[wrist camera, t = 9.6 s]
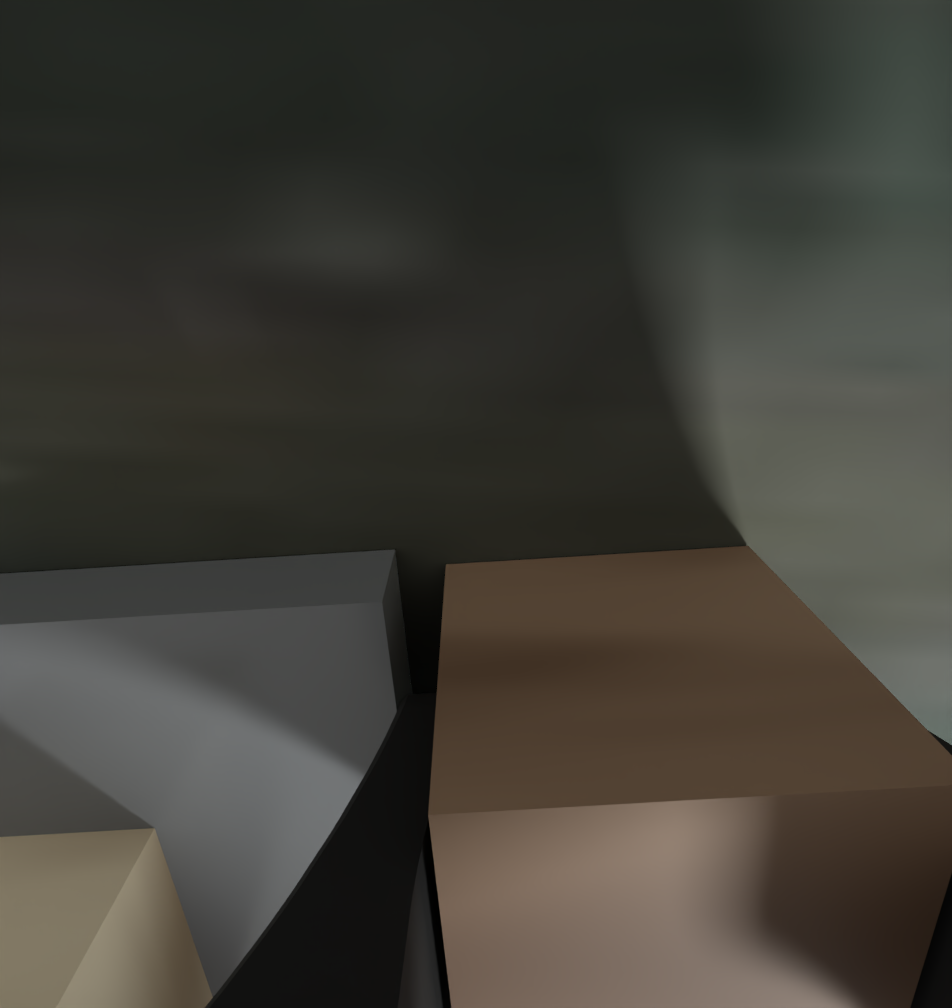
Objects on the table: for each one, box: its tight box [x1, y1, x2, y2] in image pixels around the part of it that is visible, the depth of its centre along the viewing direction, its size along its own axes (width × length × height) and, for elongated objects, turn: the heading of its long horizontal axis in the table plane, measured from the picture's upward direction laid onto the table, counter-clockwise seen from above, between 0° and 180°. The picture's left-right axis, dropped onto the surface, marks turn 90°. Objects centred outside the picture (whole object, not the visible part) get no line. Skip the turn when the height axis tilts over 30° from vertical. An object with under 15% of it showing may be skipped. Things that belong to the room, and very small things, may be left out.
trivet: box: [0, 550, 413, 997], centre depth 11 cm, size 12×12×2 cm
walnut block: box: [428, 546, 952, 1008], centre depth 8 cm, size 4×4×4 cm
